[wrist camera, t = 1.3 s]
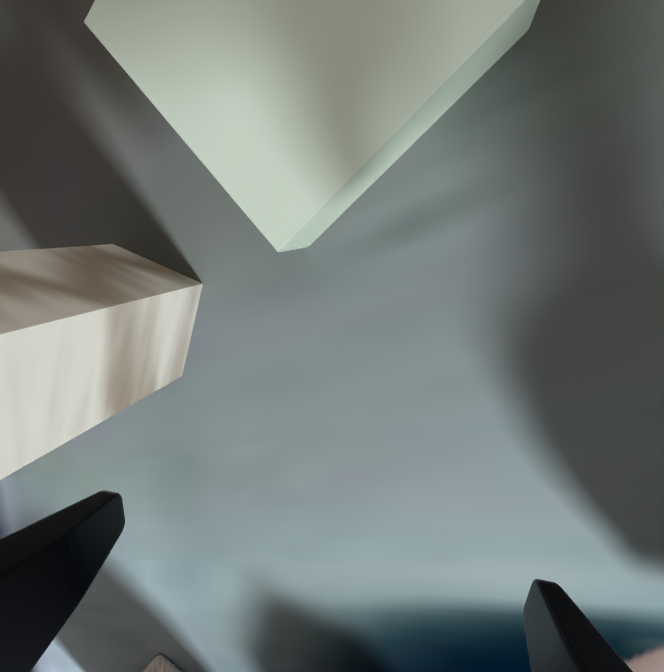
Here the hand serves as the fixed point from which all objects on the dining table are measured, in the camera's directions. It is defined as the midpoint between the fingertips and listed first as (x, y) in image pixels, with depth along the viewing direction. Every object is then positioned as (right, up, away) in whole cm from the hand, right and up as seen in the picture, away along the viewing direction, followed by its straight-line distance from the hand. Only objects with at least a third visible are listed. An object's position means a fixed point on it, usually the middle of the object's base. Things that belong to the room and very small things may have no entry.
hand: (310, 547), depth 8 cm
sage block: (0, +17, +9) cm, 19 cm away
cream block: (-10, +6, +15) cm, 19 cm away
